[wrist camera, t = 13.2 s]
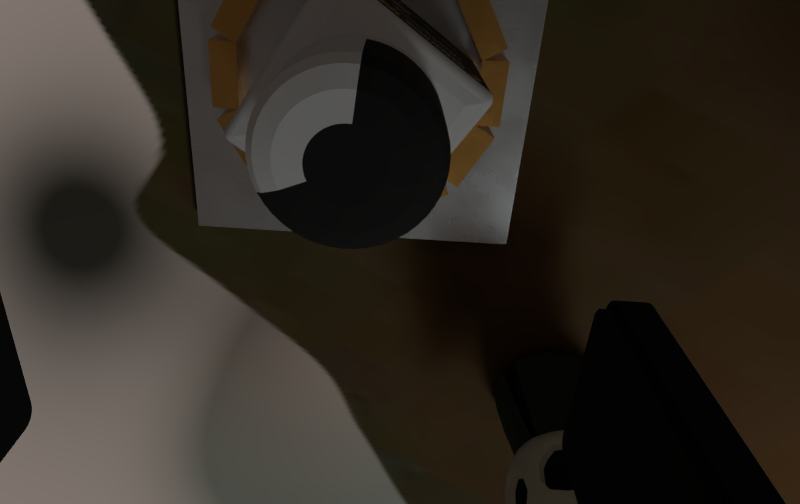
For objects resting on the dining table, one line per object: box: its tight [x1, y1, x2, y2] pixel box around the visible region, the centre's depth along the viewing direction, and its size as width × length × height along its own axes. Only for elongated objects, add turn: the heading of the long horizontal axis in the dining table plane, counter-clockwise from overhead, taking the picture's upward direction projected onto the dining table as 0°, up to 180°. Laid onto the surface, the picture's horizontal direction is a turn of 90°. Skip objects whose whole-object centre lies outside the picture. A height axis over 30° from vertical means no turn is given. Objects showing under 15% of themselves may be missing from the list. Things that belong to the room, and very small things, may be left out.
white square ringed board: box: [178, 0, 548, 244], centre depth 28 cm, size 16×16×2 cm
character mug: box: [494, 352, 582, 504], centre depth 32 cm, size 11×7×13 cm, turn 141°
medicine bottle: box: [224, 0, 493, 249], centre depth 22 cm, size 7×7×12 cm
